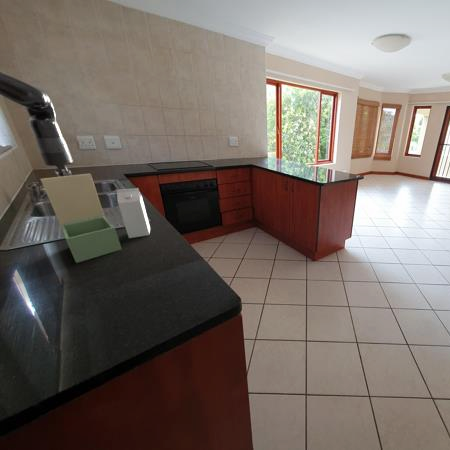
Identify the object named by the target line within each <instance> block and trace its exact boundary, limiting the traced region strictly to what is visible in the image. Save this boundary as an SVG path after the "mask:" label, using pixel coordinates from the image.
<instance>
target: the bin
mask: <svg viewBox="0 0 450 450" xmlns="http://www.w3.org/2000/svg"><path fill="white" fill-rule="evenodd" d="M60 228H61V231H62V233H63V236H64V239H65V241H66V244H67V245H68V248H69V250H70V252H71V254H72V255H71V256H72V258H73V260H74V261H75V263H76V264H78V263H81V262H84V261H88V260H91V259H95V258H98V257H101V256H104V255H107V254H111V253H114V252H117V251H122V246H121V242H120V239H119V237H118V234H117V231H116V228H115V227H114V225H113V224H112V223H111V222H110V220H108V218H107V217H106V216H105V215H104V216H99V217H94V218H90V219H85V220H80V221H75V222H70V223H66V224H61V225H60Z"/></svg>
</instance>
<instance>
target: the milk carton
mask: <svg viewBox="0 0 450 450" xmlns="http://www.w3.org/2000/svg"><path fill="white" fill-rule="evenodd" d="M115 191H116V199H117V206H118V209H119V212H120V214H121V215H120V216H121V218H122V221H123V225H124V228H125V230H126V231H125V232H126V233H127V237H128V239H134V238H140V237H145V236H150V233H151V225H150V220H149V218H148V214H147V211H146V207H145V203H144V200H143V196H142V194H141V192H140V189H139V187H135V188H123V189H116V190H115Z"/></svg>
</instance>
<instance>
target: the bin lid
mask: <svg viewBox="0 0 450 450" xmlns="http://www.w3.org/2000/svg"><path fill="white" fill-rule="evenodd" d="M40 182H41V185H42V186H43V188H44V191H45V193H46V195H47V199H48V200H49V202H50V205H51V208H52V209H53V212H54V214H55V216H56V219H57V221H58V223H59V226H61V225H65V224H70V223H75V222H80V221H84V220H89V219H94V218H98V217H103V216H105V213H104V209H103V206H102V204H101V200H100V198H99V195H98V192H97V188H96V186H95V183H94V180H93V177H92V174H91V173H82V174H71V176H62V177H58V176H55V177H54V176H53V177H45V178H40Z"/></svg>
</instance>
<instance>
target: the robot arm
mask: <svg viewBox="0 0 450 450" xmlns="http://www.w3.org/2000/svg"><path fill="white" fill-rule="evenodd" d="M0 96H2V97H4V98H6V99H8V100H10V101H12V102H14V103H15V104H17V105H20V106H22V107H24V108H25V109H26V111H27V114H28V117H29V120H28V124H29V127H30V129H31V132H32V134H33V137H34V139H35V143H36V146H37V149H38V151H39V154H40V156H41V158H42V160H43V163H44V164H45V165H46V166H49V167H54V166H55V167H56V169H54V172H55V174H56V176H57V177H62V176H71V175H73V174H72V172H71V169H70V168H67V165H72V164H73V163H74V159H73V157H72V154H71V152H70V149H69V146H68V144H67V141H66V140H65V138H64V136H63V133H62V131H61V127H60V126H59V123H58V121H57V116H56V112H55V108H54V105H53V102H52V99H51V97H50V96H49V94H48V93H47V92H45V90H43V89H41V88H39V87H36V86H34V85H31V84H29V83H27V82H26V81H25V82H24V81H23V80H20V79H19V78H16V77H14V76H11V75H9V74H7V73H6V72H4V71H3V70H1V69H0Z"/></svg>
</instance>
